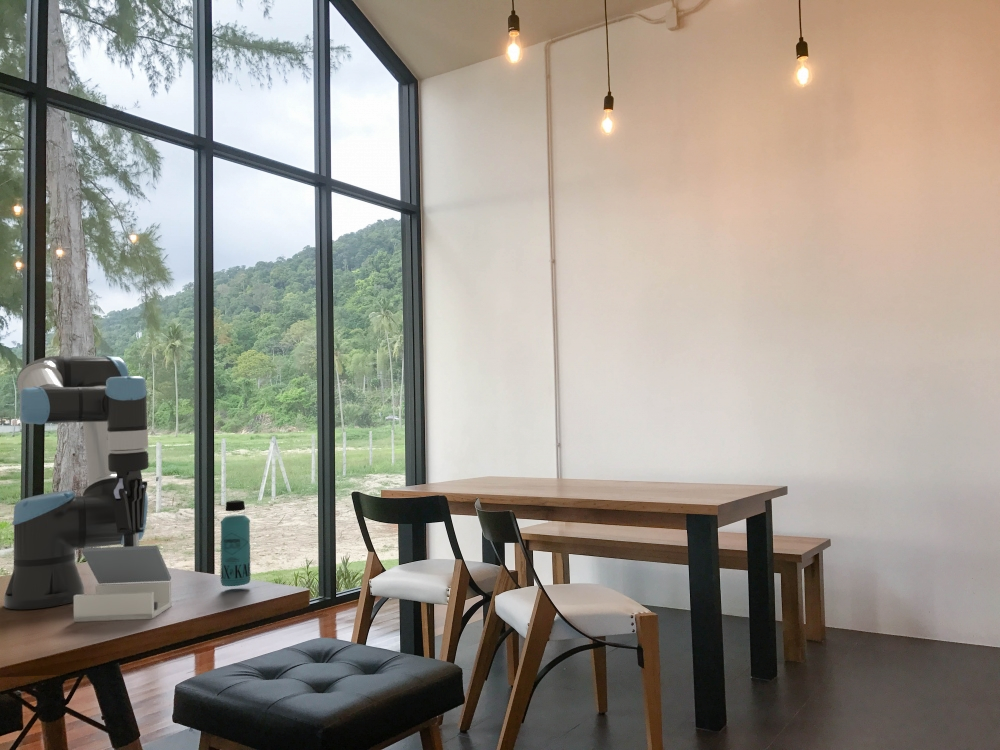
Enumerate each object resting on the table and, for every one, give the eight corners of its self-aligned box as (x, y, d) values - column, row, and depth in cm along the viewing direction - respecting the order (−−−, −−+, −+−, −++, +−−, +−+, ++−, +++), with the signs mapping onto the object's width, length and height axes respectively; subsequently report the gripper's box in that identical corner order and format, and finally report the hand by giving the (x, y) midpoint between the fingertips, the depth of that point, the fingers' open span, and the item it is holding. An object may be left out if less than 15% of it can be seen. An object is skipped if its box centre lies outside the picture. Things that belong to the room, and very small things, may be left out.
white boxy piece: (98, 609, 164) (97, 584, 164) (171, 606, 165) (171, 581, 165) (73, 621, 154) (73, 596, 154) (152, 618, 155) (151, 592, 155)
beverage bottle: (220, 588, 180) (218, 500, 181) (250, 585, 182) (249, 498, 183) (221, 594, 174) (219, 503, 175) (252, 591, 176) (251, 500, 177)
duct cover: (98, 583, 164) (100, 580, 165) (170, 580, 165) (171, 577, 166) (81, 551, 158) (83, 548, 158) (156, 548, 158) (157, 545, 159)
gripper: (122, 449, 170) (126, 559, 170) (95, 454, 157) (98, 574, 157) (158, 447, 170) (162, 557, 170) (133, 453, 157) (137, 572, 157)
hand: (131, 565), depth 163 cm, fingers closed
